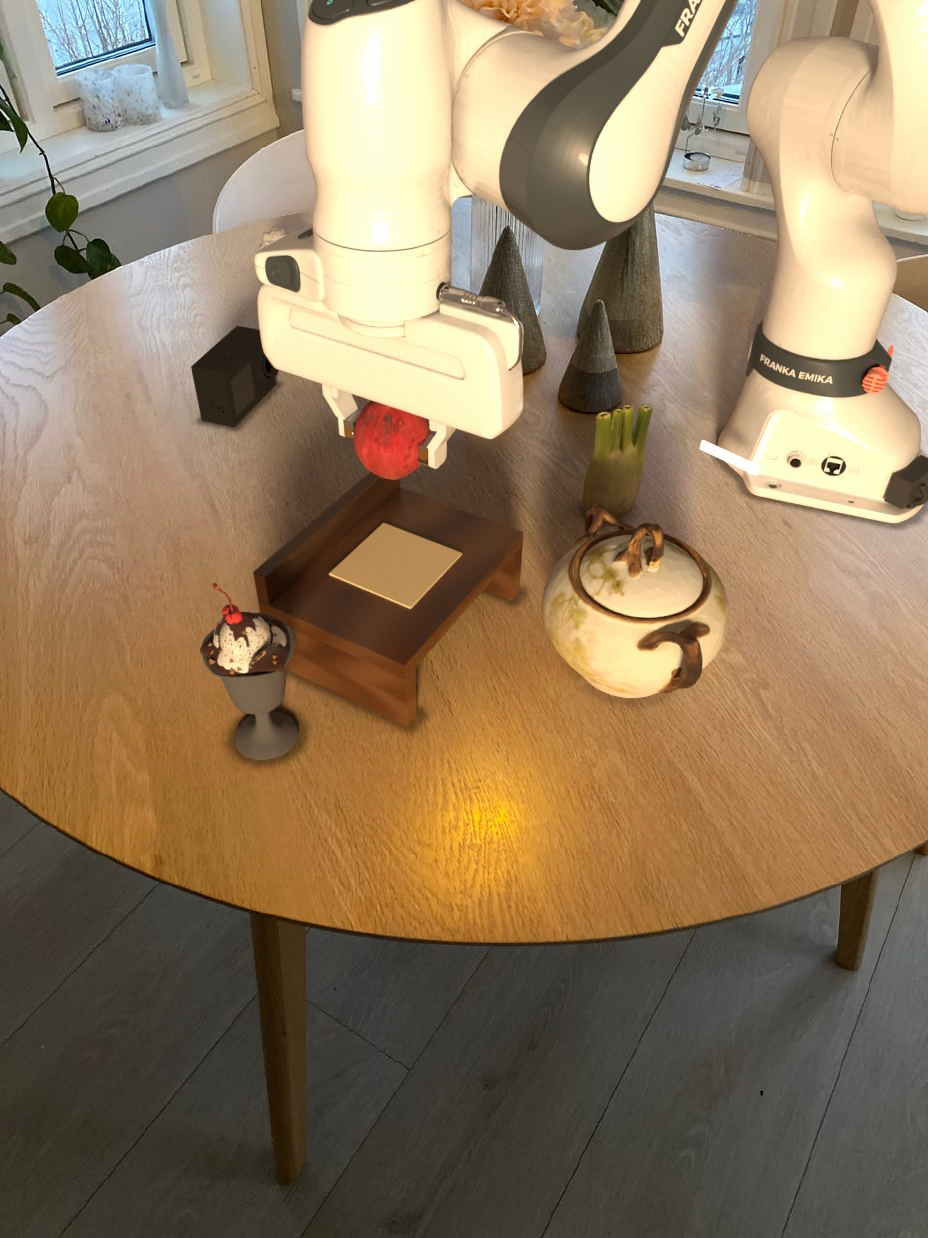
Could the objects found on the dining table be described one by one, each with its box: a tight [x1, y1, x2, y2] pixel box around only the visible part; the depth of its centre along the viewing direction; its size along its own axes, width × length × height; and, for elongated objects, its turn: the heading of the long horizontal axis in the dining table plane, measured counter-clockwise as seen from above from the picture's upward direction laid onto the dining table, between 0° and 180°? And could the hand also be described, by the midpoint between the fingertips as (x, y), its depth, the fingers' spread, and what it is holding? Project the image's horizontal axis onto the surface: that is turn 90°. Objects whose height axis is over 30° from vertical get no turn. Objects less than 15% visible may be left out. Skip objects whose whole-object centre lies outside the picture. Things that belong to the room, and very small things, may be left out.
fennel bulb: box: [581, 404, 654, 520], centre depth 93 cm, size 6×5×12 cm
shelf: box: [252, 471, 525, 728], centre depth 81 cm, size 14×19×10 cm
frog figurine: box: [257, 227, 291, 253], centre depth 135 cm, size 6×7×7 cm
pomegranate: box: [353, 400, 432, 480], centre depth 71 cm, size 6×6×8 cm
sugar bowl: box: [541, 504, 731, 699], centre depth 77 cm, size 20×15×15 cm
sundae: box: [199, 582, 299, 761], centre depth 70 cm, size 7×7×15 cm
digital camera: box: [190, 325, 279, 428], centre depth 109 cm, size 10×5×7 cm, turn 161°
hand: (391, 448), depth 72 cm, fingers closed on pomegranate, 6 cm apart
